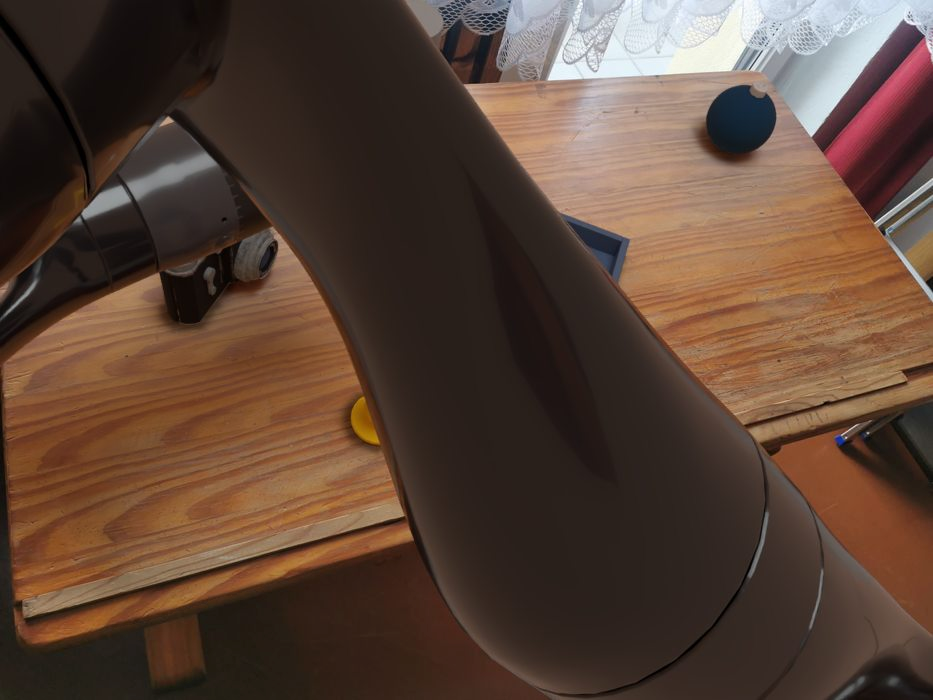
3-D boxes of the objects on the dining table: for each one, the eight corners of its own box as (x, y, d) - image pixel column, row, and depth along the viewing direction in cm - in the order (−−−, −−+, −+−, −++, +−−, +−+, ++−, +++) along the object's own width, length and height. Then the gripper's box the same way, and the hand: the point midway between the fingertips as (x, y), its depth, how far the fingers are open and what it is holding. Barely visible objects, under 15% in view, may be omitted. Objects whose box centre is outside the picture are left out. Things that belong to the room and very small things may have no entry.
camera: (225, 343, 71) (217, 276, 63) (159, 315, 72) (142, 244, 63) (299, 237, 80) (301, 165, 72) (239, 212, 80) (234, 138, 72)
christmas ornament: (742, 124, 105) (781, 61, 96) (765, 169, 100) (807, 107, 92) (686, 121, 103) (720, 57, 94) (706, 167, 98) (744, 103, 90)
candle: (338, 419, 69) (349, 319, 57) (378, 384, 72) (397, 281, 59) (381, 457, 68) (402, 363, 55) (420, 420, 71) (448, 322, 58)
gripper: (268, 222, 40) (506, 116, 48) (126, 59, 44) (366, -12, 53) (269, 308, 46) (480, 201, 54) (144, 157, 50) (357, 80, 59)
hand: (423, 97), depth 53 cm, fingers closed on container, 4 cm apart
